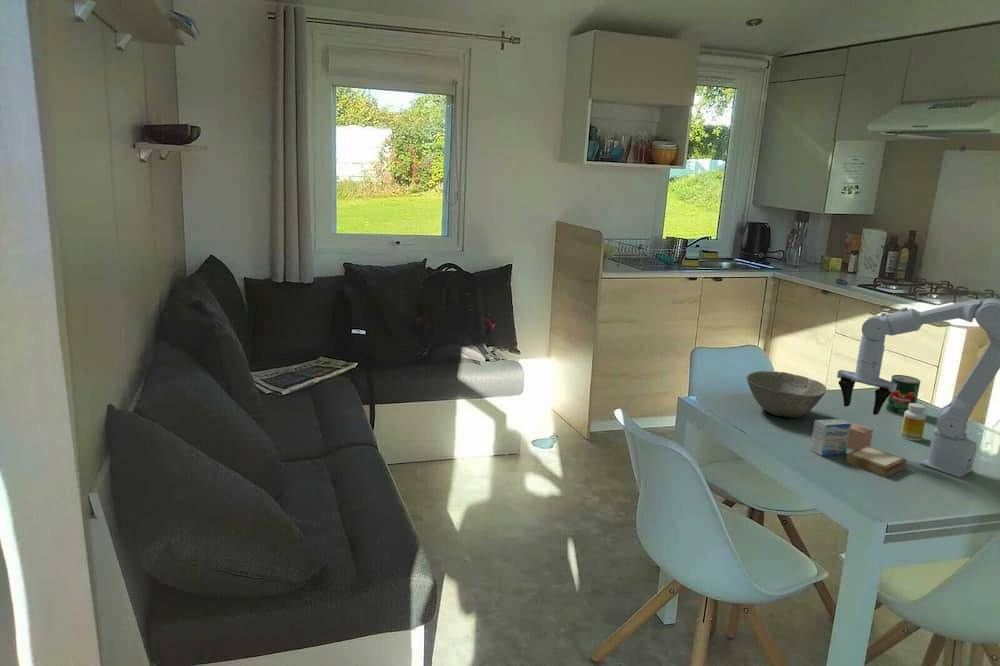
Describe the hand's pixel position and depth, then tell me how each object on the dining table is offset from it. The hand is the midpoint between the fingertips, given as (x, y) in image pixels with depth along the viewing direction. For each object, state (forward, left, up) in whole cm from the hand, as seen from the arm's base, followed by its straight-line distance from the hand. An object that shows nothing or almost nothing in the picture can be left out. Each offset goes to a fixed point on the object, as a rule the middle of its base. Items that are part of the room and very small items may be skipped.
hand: (861, 409), depth 190 cm
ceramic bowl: (+25, -5, -11) cm, 28 cm away
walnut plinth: (-10, +9, -10) cm, 17 cm away
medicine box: (+2, +11, -11) cm, 15 cm away
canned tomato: (+6, -40, -11) cm, 42 cm away
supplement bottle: (-6, -20, -11) cm, 24 cm away
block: (-1, +1, -10) cm, 10 cm away
